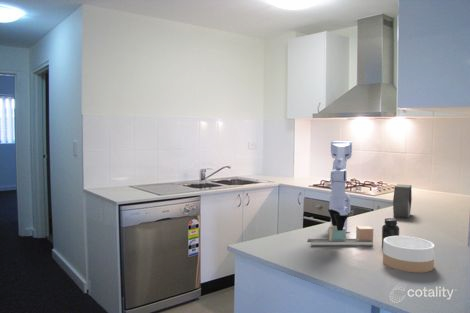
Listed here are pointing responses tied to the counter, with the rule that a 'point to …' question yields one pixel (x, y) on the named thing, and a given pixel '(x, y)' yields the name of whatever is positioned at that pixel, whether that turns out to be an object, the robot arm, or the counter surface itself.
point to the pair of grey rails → (339, 242)
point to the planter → (402, 201)
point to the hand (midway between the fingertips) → (337, 227)
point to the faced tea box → (364, 233)
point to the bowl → (408, 253)
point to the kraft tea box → (336, 234)
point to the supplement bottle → (390, 228)
